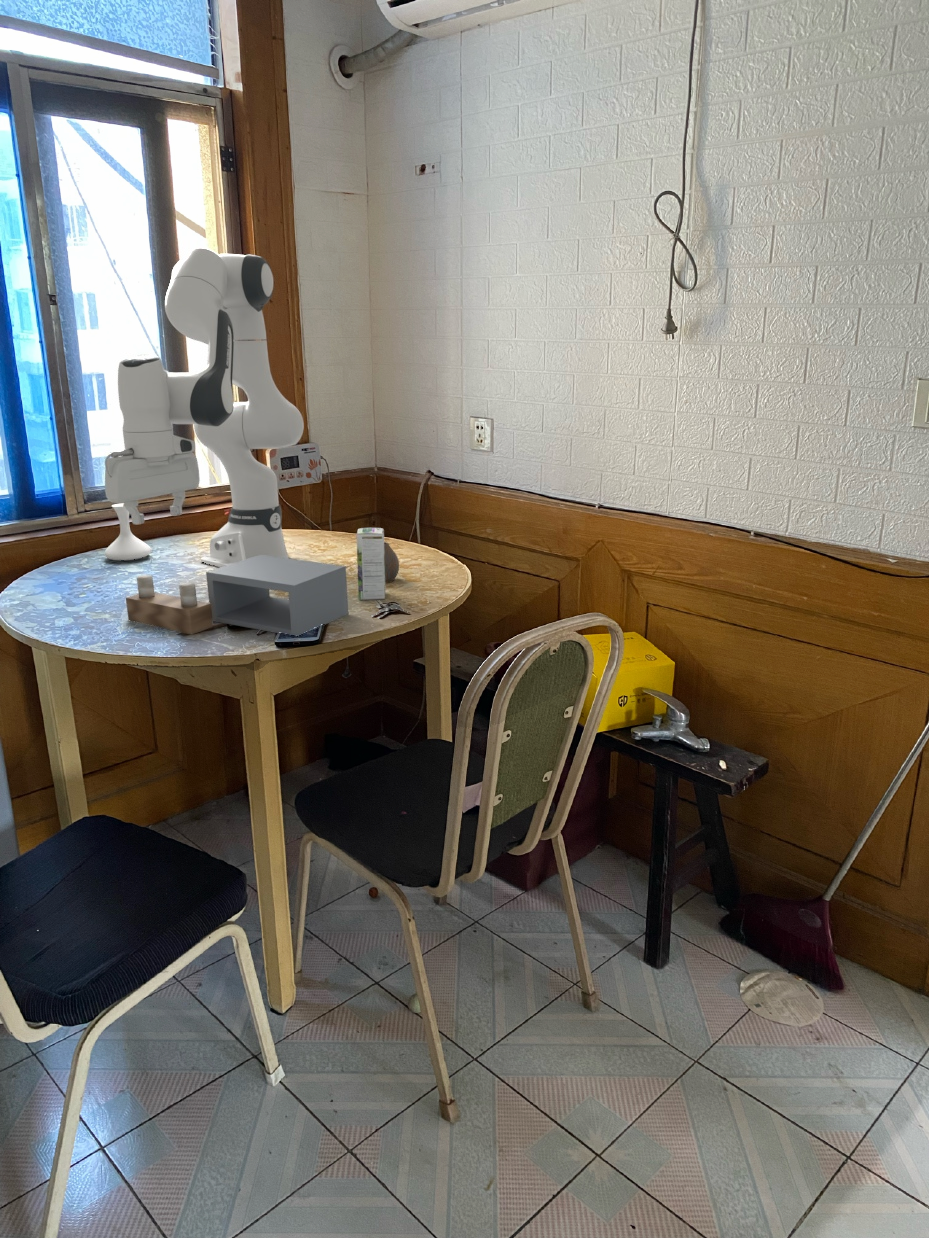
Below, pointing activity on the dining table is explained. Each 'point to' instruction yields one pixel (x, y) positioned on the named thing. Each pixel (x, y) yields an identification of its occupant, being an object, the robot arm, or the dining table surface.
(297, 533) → the dining table surface
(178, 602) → the twin candle holder
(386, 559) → the vase
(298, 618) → the slate shelf
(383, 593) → the syrup box
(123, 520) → the flower in vase
